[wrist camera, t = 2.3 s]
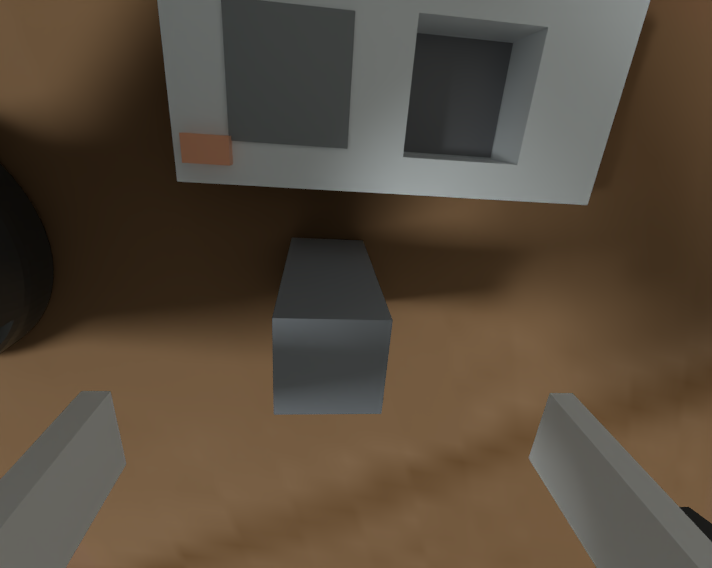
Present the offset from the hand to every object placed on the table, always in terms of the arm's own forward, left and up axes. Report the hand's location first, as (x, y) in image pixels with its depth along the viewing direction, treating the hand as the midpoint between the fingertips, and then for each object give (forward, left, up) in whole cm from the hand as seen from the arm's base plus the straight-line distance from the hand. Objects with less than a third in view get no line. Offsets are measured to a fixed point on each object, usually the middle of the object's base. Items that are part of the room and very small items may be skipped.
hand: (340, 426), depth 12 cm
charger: (0, 0, -13) cm, 13 cm away
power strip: (+3, +10, -13) cm, 16 cm away
